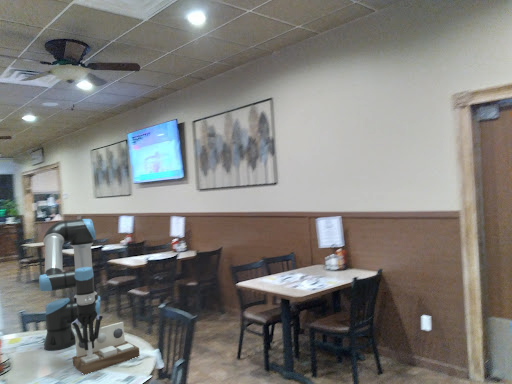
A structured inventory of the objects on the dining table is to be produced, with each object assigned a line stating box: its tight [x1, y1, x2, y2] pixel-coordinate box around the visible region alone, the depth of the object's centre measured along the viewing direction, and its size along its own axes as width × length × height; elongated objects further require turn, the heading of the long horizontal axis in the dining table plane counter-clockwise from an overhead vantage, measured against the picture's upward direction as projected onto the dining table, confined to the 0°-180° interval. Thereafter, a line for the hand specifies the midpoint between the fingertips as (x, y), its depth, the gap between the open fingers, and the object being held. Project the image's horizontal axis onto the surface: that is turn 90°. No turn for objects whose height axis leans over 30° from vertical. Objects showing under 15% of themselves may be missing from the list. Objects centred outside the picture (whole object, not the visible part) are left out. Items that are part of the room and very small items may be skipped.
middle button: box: [99, 346, 117, 358], centre depth 185 cm, size 6×6×3 cm
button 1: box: [81, 354, 99, 364], centre depth 180 cm, size 6×6×3 cm
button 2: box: [116, 342, 135, 352], centre depth 190 cm, size 6×6×3 cm
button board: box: [71, 340, 141, 376], centre depth 187 cm, size 15×25×4 cm, turn 131°
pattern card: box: [74, 321, 126, 357], centre depth 191 cm, size 2×22×10 cm, turn 131°
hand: (89, 356), depth 180 cm, fingers closed
